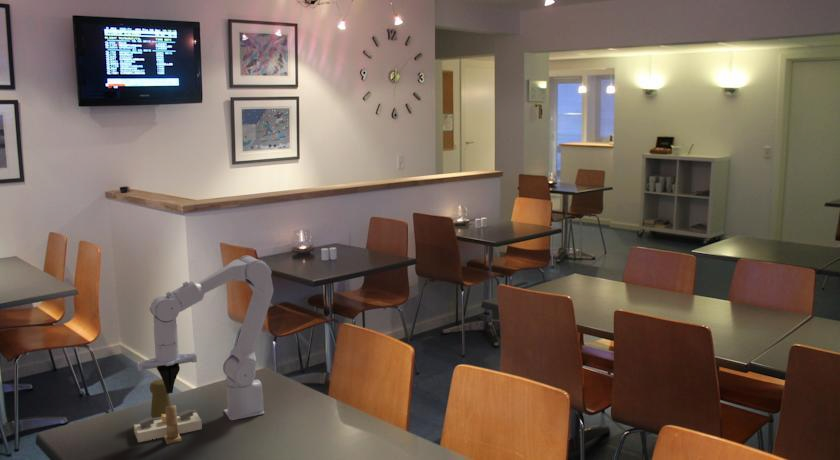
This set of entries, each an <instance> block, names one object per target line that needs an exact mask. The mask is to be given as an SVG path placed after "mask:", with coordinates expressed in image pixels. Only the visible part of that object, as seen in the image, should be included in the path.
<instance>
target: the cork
mask: <svg viewBox="0 0 840 460" xmlns="http://www.w3.org/2000/svg"><path fill="white" fill-rule="evenodd" d="M149 391H150V392H151V394H152V395H151V405H150V406H151V407H150V408H151V409H150V416H152V418H157V417H161V414H166V409H165V407H166V406H168V405H172V403H171V399H170V393H169V394H167V392H166V389H165V385H164V382H163V380H162V378H161V379H160V378H159V379H155V380H153V381H152V382H151V383H150V385H149Z"/></svg>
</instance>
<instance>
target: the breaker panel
mask: <svg viewBox="0 0 840 460" xmlns="http://www.w3.org/2000/svg"><path fill="white" fill-rule="evenodd" d="M192 412H193V416H191V417H188V418H186V419H183V420H181V419H180V417H179V413H180V412H177V427H178V433H179V435H180V434H185V433H189V432H195V431H199V430H202V429H203V425H202V424H203V423H202V418H201V417H200V416H199V414H198V412H197V410H196V409H194V410H192ZM139 421H140V420H138V421H134V422H133V432H134V433H133V434H134V435H135V438H136V441H137V443H143V442H147V441H152V439H153V440H157V439H161V438H164V436H167V424H166V422H162V420H161V417H157V418H153V421H154V424H151V425H149V426H146V427H144V428H141V426H140V423H139ZM156 438H157V439H156Z"/></svg>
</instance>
